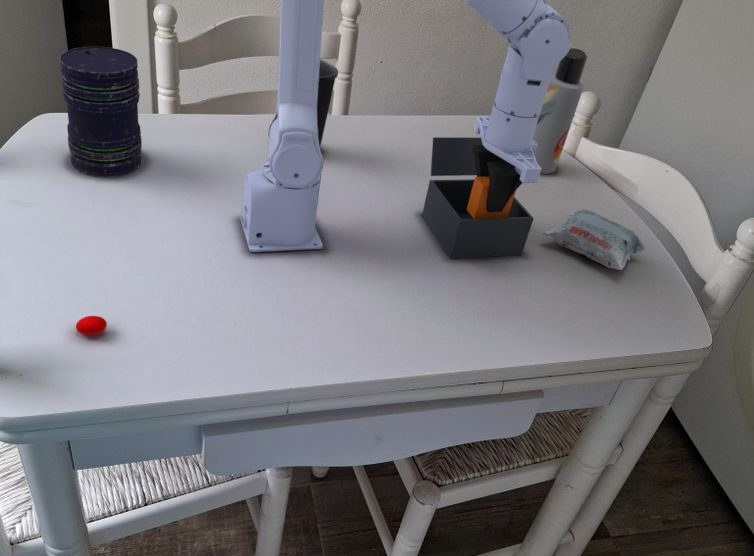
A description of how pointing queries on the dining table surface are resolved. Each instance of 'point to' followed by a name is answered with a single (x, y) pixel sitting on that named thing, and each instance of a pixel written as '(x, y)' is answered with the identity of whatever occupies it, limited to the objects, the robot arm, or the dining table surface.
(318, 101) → the drinking cup
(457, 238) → the bin
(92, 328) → the candy
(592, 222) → the packaged food
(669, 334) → the dining table surface
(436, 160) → the bin flap
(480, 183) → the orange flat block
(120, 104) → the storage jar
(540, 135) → the lotion bottle
